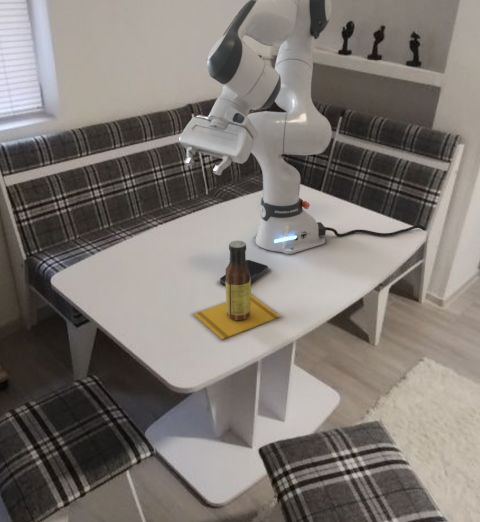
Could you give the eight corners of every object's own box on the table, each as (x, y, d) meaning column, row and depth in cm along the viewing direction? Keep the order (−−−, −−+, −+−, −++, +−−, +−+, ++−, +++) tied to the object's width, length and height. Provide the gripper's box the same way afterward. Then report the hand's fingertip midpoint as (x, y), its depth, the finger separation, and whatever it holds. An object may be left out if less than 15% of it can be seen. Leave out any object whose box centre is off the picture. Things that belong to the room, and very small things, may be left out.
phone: (218, 279, 147) (247, 259, 157) (218, 283, 148) (247, 262, 158) (242, 288, 144) (269, 266, 153) (241, 291, 144) (269, 269, 154)
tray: (250, 295, 143) (250, 293, 143) (280, 317, 134) (280, 315, 134) (194, 315, 135) (193, 313, 135) (221, 340, 126) (221, 338, 126)
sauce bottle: (255, 314, 135) (258, 243, 123) (239, 324, 131) (241, 253, 119) (235, 305, 138) (237, 235, 126) (220, 315, 134) (220, 244, 122)
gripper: (189, 106, 134) (165, 154, 134) (253, 119, 124) (227, 171, 124) (200, 120, 140) (177, 167, 140) (263, 135, 130) (238, 185, 130)
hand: (201, 169), depth 132 cm, fingers open, 8 cm apart
